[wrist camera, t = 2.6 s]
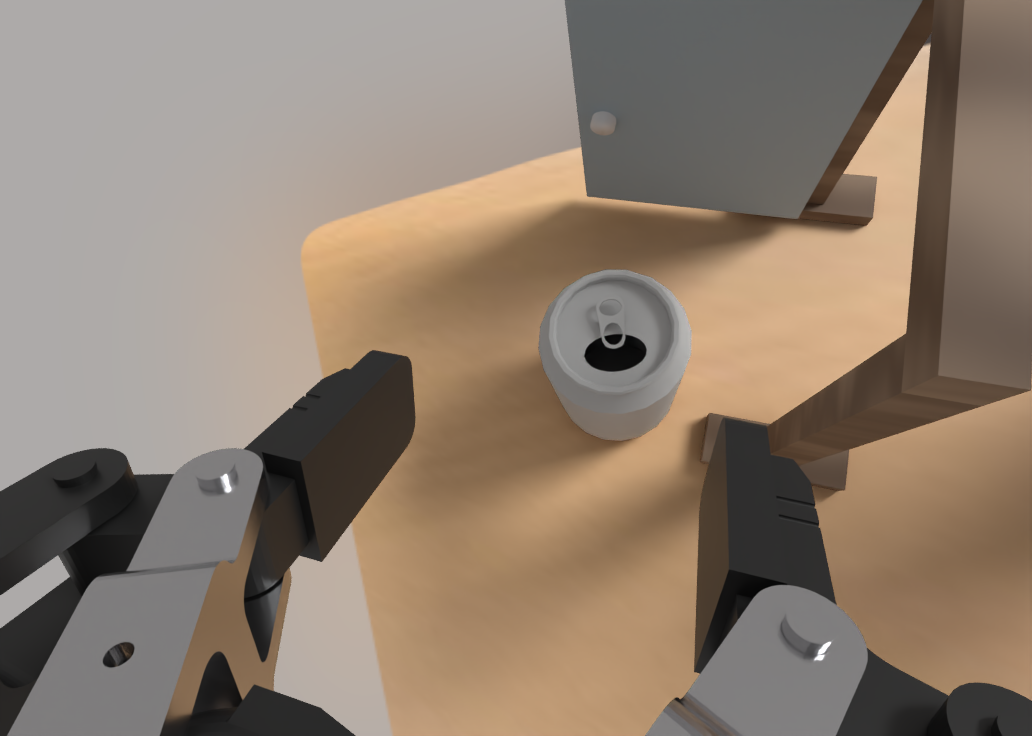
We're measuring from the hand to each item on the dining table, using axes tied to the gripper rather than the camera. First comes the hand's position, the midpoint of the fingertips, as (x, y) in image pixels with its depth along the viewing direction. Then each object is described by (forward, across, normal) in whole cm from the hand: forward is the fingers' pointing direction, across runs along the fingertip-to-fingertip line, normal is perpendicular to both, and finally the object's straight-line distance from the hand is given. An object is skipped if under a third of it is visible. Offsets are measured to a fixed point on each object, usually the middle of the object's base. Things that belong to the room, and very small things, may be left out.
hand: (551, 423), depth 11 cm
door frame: (+28, -10, +9) cm, 31 cm away
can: (+24, 0, +14) cm, 27 cm away
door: (+32, -2, +3) cm, 32 cm away
